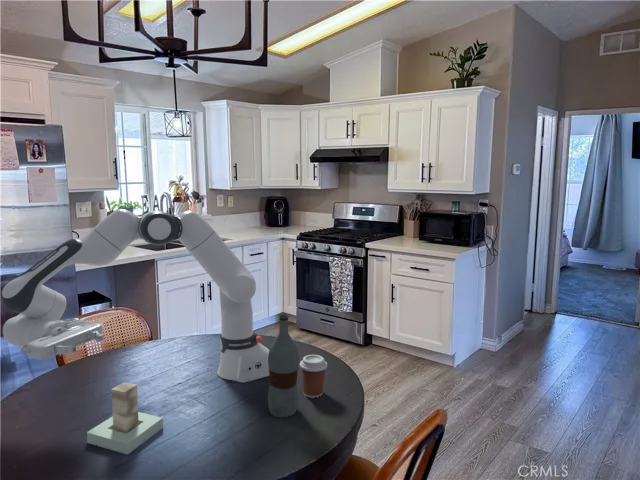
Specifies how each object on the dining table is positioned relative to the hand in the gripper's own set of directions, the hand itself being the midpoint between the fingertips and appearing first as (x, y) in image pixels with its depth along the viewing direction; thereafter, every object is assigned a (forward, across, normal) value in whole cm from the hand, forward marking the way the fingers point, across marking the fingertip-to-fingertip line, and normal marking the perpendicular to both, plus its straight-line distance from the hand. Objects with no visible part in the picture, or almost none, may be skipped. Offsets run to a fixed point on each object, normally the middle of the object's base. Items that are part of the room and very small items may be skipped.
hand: (88, 343), depth 126 cm
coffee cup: (+50, +42, +25) cm, 70 cm away
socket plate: (+12, 0, +24) cm, 27 cm away
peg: (+12, 0, +24) cm, 27 cm away
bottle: (+46, +28, +25) cm, 59 cm away
